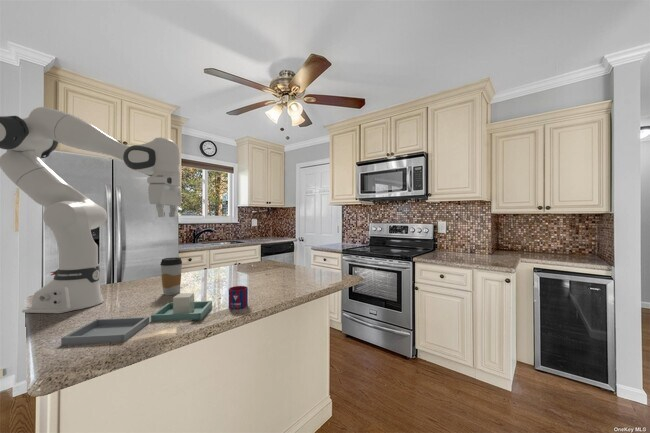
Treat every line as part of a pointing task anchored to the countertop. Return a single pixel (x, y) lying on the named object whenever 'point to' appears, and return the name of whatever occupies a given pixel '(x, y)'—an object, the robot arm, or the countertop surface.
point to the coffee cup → (171, 275)
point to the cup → (238, 297)
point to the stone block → (183, 303)
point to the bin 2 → (167, 313)
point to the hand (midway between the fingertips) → (167, 217)
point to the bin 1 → (106, 331)
